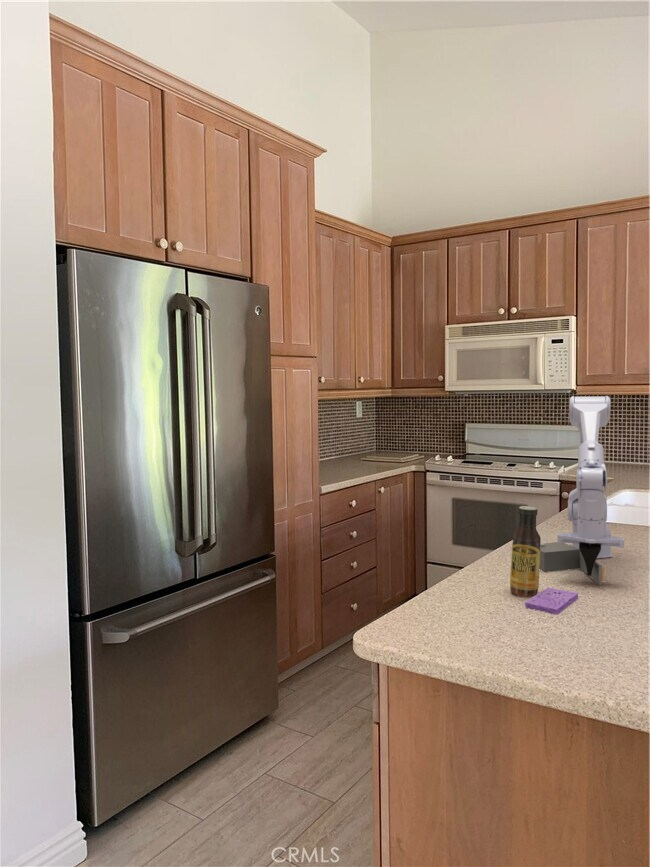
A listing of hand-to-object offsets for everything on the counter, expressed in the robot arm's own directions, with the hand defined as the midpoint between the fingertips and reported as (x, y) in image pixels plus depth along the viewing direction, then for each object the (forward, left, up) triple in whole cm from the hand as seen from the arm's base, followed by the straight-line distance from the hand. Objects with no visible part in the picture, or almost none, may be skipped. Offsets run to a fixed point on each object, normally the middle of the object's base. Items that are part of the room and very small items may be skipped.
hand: (589, 574), depth 155 cm
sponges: (+16, +9, -3) cm, 19 cm away
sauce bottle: (+18, +2, -2) cm, 18 cm away
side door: (-3, -4, -2) cm, 6 cm away
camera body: (0, -15, -2) cm, 15 cm away
